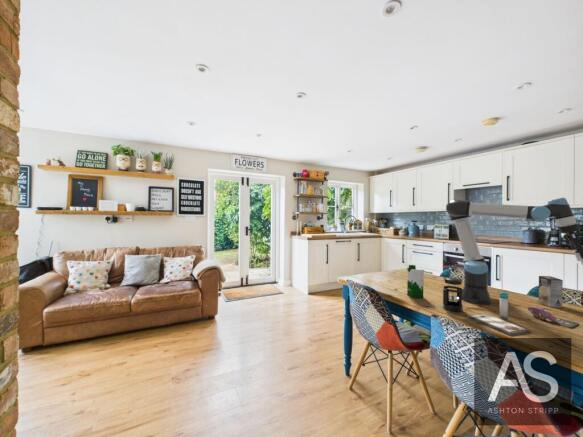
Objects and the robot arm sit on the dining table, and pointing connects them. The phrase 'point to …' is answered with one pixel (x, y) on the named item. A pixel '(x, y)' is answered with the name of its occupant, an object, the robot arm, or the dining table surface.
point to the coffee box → (550, 291)
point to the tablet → (499, 324)
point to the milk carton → (415, 281)
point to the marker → (503, 305)
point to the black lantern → (451, 304)
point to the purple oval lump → (541, 313)
